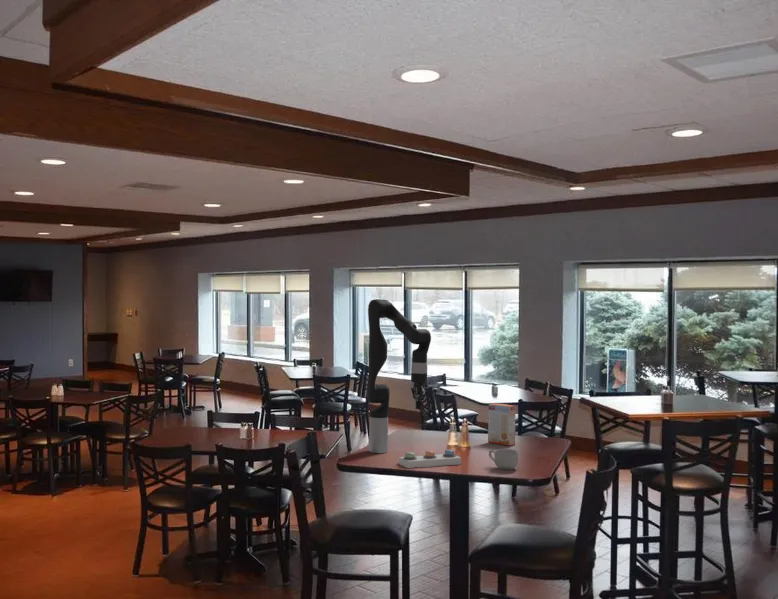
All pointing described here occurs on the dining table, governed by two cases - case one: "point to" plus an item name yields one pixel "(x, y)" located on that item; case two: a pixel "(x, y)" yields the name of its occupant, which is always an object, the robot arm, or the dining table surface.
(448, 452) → the slate button
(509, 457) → the teacup
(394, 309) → the robot arm
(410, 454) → the sage button
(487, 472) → the dining table surface
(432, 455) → the terracotta button
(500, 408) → the cracker box
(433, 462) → the button panel
